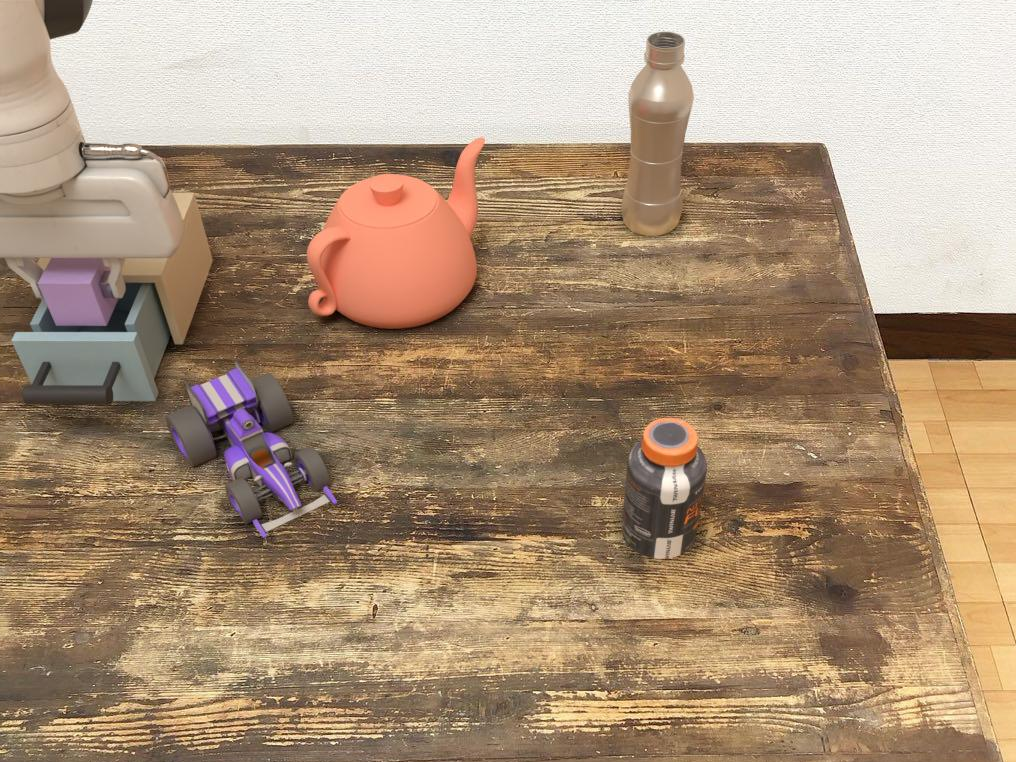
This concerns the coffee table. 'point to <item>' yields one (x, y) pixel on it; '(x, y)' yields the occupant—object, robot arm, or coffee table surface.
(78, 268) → the purple cube
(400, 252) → the teapot
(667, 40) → the plastic bottle
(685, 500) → the pill bottle
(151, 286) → the blue drawer
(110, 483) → the coffee table surface
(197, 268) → the drawer cabinet
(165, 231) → the robot arm
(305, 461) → the toy race car
